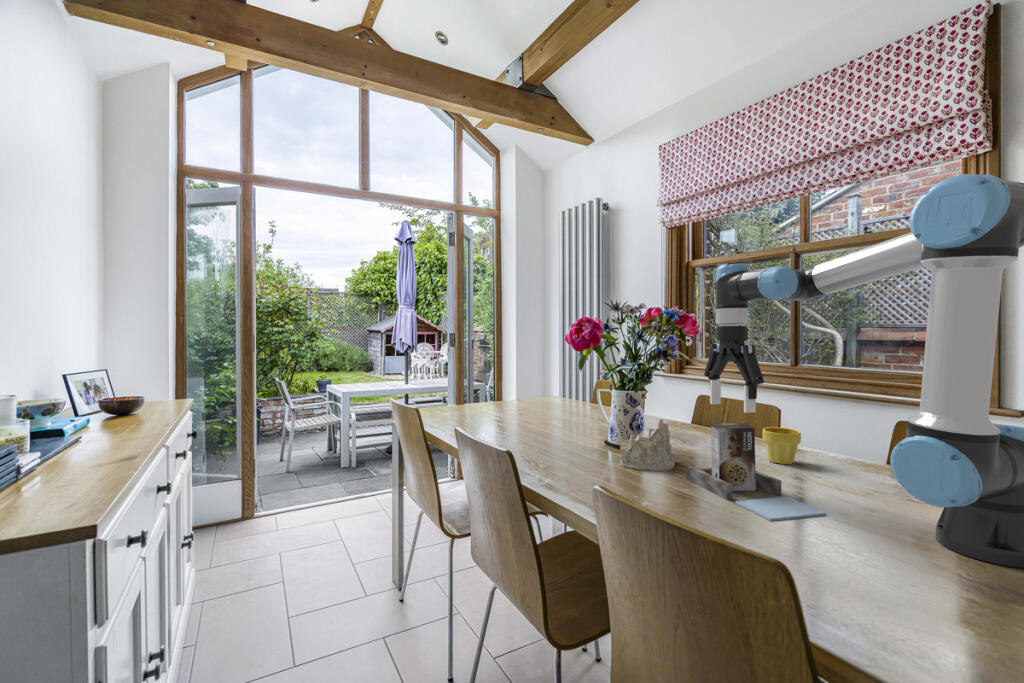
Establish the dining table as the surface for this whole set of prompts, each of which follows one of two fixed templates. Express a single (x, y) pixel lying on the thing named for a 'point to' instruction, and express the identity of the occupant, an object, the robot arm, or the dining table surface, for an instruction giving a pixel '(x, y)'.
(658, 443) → the ceramic cottage
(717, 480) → the tray
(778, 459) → the plant pot
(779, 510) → the mat
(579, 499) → the dining table surface
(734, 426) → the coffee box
